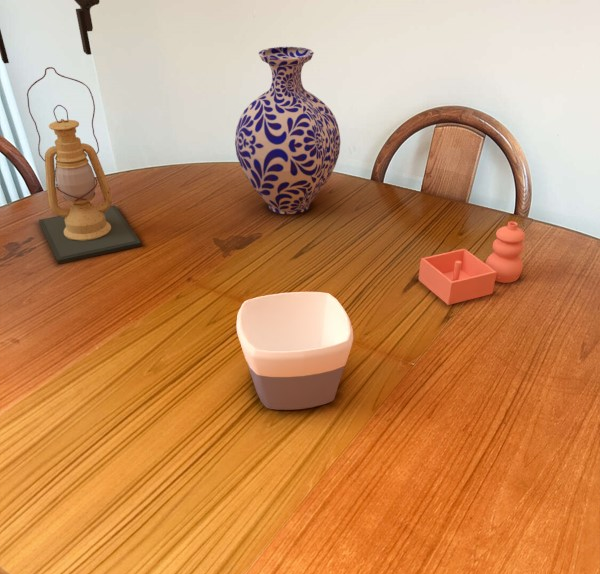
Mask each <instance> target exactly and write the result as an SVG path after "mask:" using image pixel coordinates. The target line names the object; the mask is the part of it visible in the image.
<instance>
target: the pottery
mask: <svg viewBox="0 0 600 574" xmlns="http://www.w3.org/2000/svg"><path fill="white" fill-rule="evenodd" d="M518 225H519V224H518V222H516V221H508V222H507V225H505V226H502V227H499V228H497V230H496V233H495V236H496V239H495V240H493V243H492V251H493V252H491V253H490V255H488V257H487V258H486V260H485V262H484V261H482V260H481V259H479V257H477V256H476V255H474V254H473V253H471V252H470V251H468V250H467V249H466V248H460V249H457V250H452V251H448V252H444V253H439V254H434V255H430V256H425V257H421V258H420V263H419V272H418V278H417V279H418V281H419V282H420V283H421V284H423V286H425V287H426V288H427V289H428V290H430V291H431V292H432V293H433V294H434V295H435V296H437V297H438V298H439V299H440V300H442V302H444V303H445V304H446V305H447V306H451V305H453V304H458V303H461V302H466V301H470V300H473V299H477V298H481V297H485V296H489V295H493V292H494V287H495V282H497V283H503V284H505V283H506V284H507V283H508V284H509V283H513V282H516V281H518V279H519V278H520V276H521V275H522V272H523V269H524V263H523V259H522V258H521V256H520V255H521V254H522V253H523V251H524V243H523V241H524V240H525V239H526V234H525V232H524V231H523V229H522V228H520V227H518ZM518 275H519V276H518ZM516 276H517V277H516ZM498 277H500V278H498ZM512 277H515V278H512Z"/></svg>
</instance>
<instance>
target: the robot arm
mask: <svg viewBox="0 0 600 574" xmlns="http://www.w3.org/2000/svg"><path fill="white" fill-rule="evenodd" d="M73 1H74V2H75V3H76V4H77V5H78V6H79V8H75V14H76V19H77V25H78V29H79V35H80V39H81V46H82V51H83V53H84V54H86V55H87V56H88V55H89V56H91V55H92V50H91V49H92V48H91V44H90V39H89V32H93V31H94V30H93V28H94V26H93V21H92V15H91V9H92V8H93V7H94V6H96V5H97V6H98V5H99V4H100V1H101V0H73ZM1 30H2V29H0V57H1V61H2V62H3V64H10V61H9V58H8V53H7V50H6V46H5V42H4V38H3V34H2V31H1Z"/></svg>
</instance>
